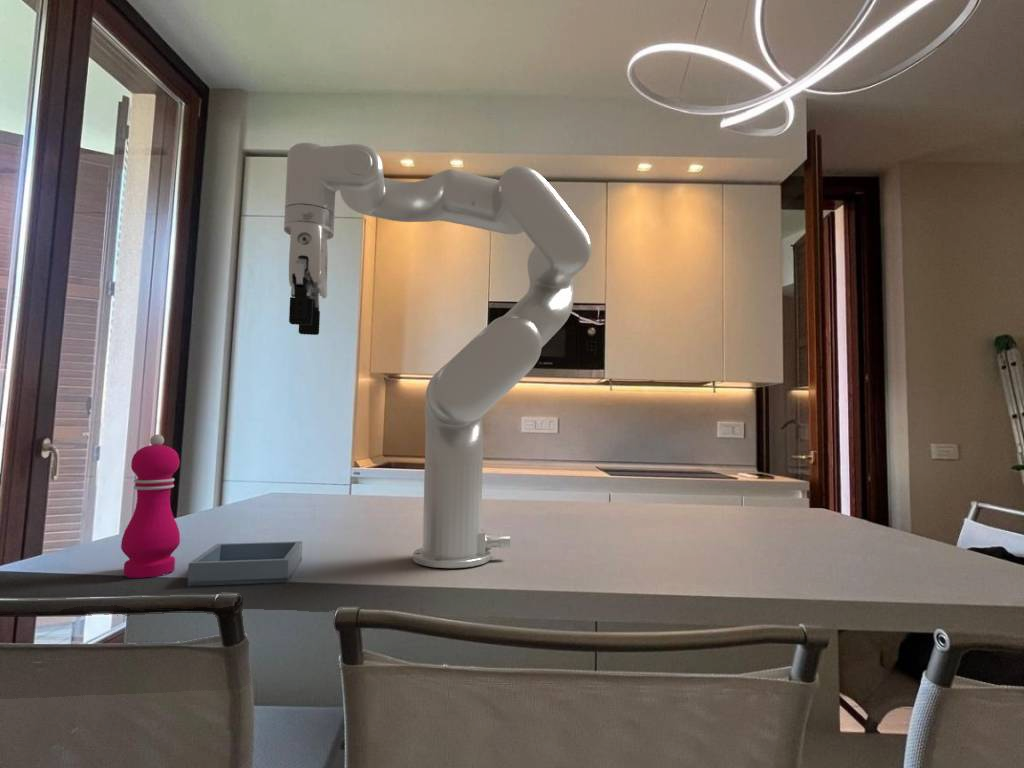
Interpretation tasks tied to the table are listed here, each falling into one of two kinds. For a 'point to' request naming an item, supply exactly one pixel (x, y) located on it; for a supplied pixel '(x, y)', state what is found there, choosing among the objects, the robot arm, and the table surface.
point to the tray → (245, 563)
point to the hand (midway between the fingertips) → (304, 329)
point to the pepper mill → (152, 513)
